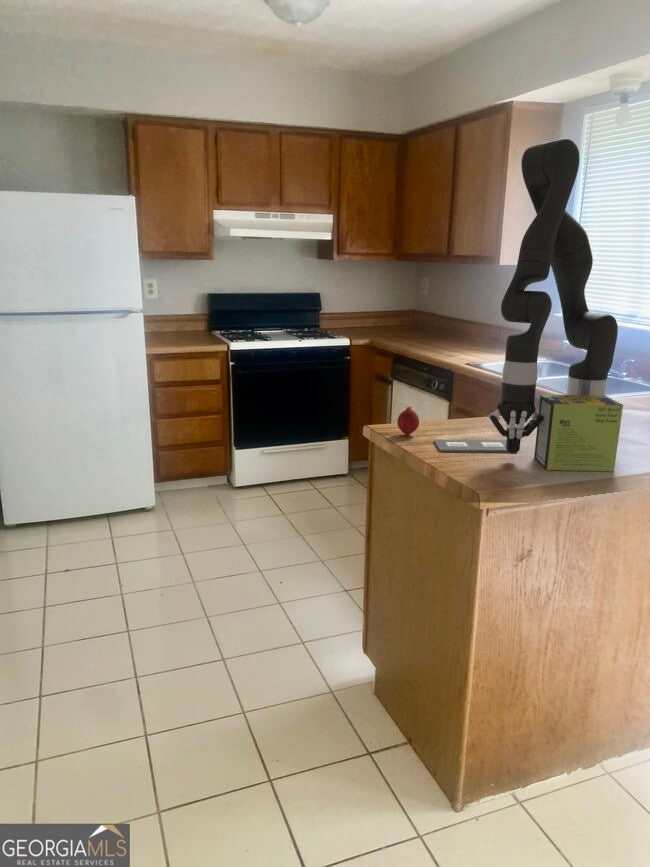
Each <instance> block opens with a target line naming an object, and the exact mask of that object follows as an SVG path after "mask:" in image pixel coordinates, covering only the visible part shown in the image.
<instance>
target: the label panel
mask: <svg viewBox="0 0 650 867" xmlns="http://www.w3.org/2000/svg"><path fill="white" fill-rule="evenodd" d="M506 441H507V439H436V438H435V439H433V443H434V445H436V448H437V449H438V452H440V453H509V452H508V451H507V450H506Z"/></svg>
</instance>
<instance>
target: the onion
mask: <svg viewBox="0 0 650 867" xmlns="http://www.w3.org/2000/svg"><path fill="white" fill-rule="evenodd" d="M396 423H397V428H398V429H399V430H400V431H401V432H402V434H404V435H405V436H410V435H411V434H413V433H414V432H416V431H417V429H419V425H420V418H419V415H418V414H417V412H415V411H414V410H413V409H412V406H411V405H408V406H407V407H406V409H404V410H403V411H402V412H400V414H399V415H398V418H397V420H396Z"/></svg>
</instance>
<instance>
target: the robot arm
mask: <svg viewBox="0 0 650 867" xmlns="http://www.w3.org/2000/svg"><path fill="white" fill-rule="evenodd" d="M579 168H580V151H579V147H578V145H577V144H576V142H575V141H574V140H572V139H571V138H564V137H563V138H560V139H555V140H549V141H546V142H542V143H538V144H535V145H532V146H529V147H527V149H525V151H524V152H523V154H522V157H521V174H522V178H523V181H524V185H525V188H526V190H527V192H528V196H529V199H530V201H531V203H532V206H533V208H534V210H535V214H536V215H535V217H534V219H533V220H532V221H531V223H530V224H529V225H528V228H527V229H526V231H525V232H524V235H523V236H522V240H521V243H520V247H519V253H518V257H517V258H518V259H517V262H516V263H517V264H516V268H515V272H514V273H513V277H512V279H511V281H510V283H509V284H508V285H509V286H508V287H507V289H506V291H505V294H504V296H503V298H502V301H501V304H500V312H501V315H502V318H503V319H504V320H505V321H506V322H510V323H520V324H522V323H523V324H530V325H529V328H528V329H527V330H526V331H524V332H517V333H511V334H510V335H508V337H507V339H506V345H505V356H504V362H503V363H504V364H503V367H502V376H501V377H502V378H501V389H500V398H499V404H498V405H497V409H496V410H494V411H493V412H489V413H488V414H487V417H488V419H489V421H491V423H492V424H493V426H494V428H495V429H496V430H497V432H499V434H500V435H501V436H502V437H506V440H507V441H506V450H507V451H508V452H507V453H508V454H510V455H517V454H518V452H520V449H521V439H522V438H524V437H525V438H526V437H529V436H530V435H531V434H532V433H533V432H534V431H535V429H537V426H538V425H539V424H540V423H541V422H542V421H543V420H544V417H543V416H542V415H541V414H539V412H538V411H537V408H536V406H535V400H536V399H535V398H536V397H535V396H536V388H537V381H538V358H539V348H540V341H541V338H542V334H543V333H544V329H545V326H546V325H547V323H548V319H549V316H550V314H551V311H552V306H553V302H552V298H551V295H549V294H548V292H547V291H542V290H541V291H540V290H526V289H527V287H528V286H530V285H531V284H534V283H535V284H536V283H539V282H543V281H545V280H547V279H548V278H549V275H550V269H551V270H552V273H553V274H552V275H553V276H554V281H555V284H556V289H557V293H558V297H559V302H560V306H561V307H560V308H561V313H562V320H563V327H564V333H565V336H566V340H567V341H568V343H569V344H570V345H571V346H572V347H574V348H576V349H579V350H580V349H581V350H586V353H585V357H584V359H583V360H582V361H579V362H575V363H572V364H570V366H569V368H568V374H567V375H568V377H567V385H566V392H565V393H566V394H565V395H605V396H606V391H607V383H608V377H609V372H610V371H611V368H612V366H613V361H614V355H615V351H616V345H617V342H618V341H617V340H618V332H619V326H618V322H617V320H616V317H614V316H613V315H612V314H608V313H600V312H592V311H590V310H589V308H588V305H587V301H586V296H585V295H586V294H585V289H586V285H587V283H588V281H589V277H590V274H591V272H592V268H593V265H594V264H593V263H594V260H593V258H594V257H593V253H592V249H591V244H590V240H589V236H588V233H587V232H586V230H585V229H584V227H583V226H582V224H580V223H579V221H577V220H576V218H574V216H573V215H571V213H569V211H567V210H566V208H567V205H568V202H569V200H570V198H571V197H570V196H571V193H572V191H573V188H574V184H575V182H576V179H577V176H578V171H579ZM501 417H502V419H503V420H504V422H505V427H506V428H504V427H503V425H502V423H501V422H500V419H501ZM529 419H530V420H529ZM528 421H529V422H528ZM527 422H528V423H527ZM525 423H527V424H526V425H525Z"/></svg>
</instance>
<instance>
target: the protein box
mask: <svg viewBox="0 0 650 867" xmlns="http://www.w3.org/2000/svg"><path fill="white" fill-rule="evenodd" d="M539 397H540V398H539V405H538V406H539V407H538V413H539V414H541V415H542V416H543V417H544V420H543V421H542V422H541V423H540V424H539V425H538V426H537V427H536V436H535V445H534V446H535V447H534V456H533V457H534V458H535V459H536V460H537V461H538V462H539V464H541V465H542V467H543V468H544V469H545V470H546V471H570V472H572V471H574V472H575V471H578V472H579V471H580V472H581V471H582V472H615V467H616V460H617V452H618V445H619V438H620V429H621V422H622V417H623V409H624V408H623V407H624V404H622V403H620V402H618V401H616V400H614V399H612V398H611V397H609V396H607V395H606V394H605V395H566V394H540V396H539Z"/></svg>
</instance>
